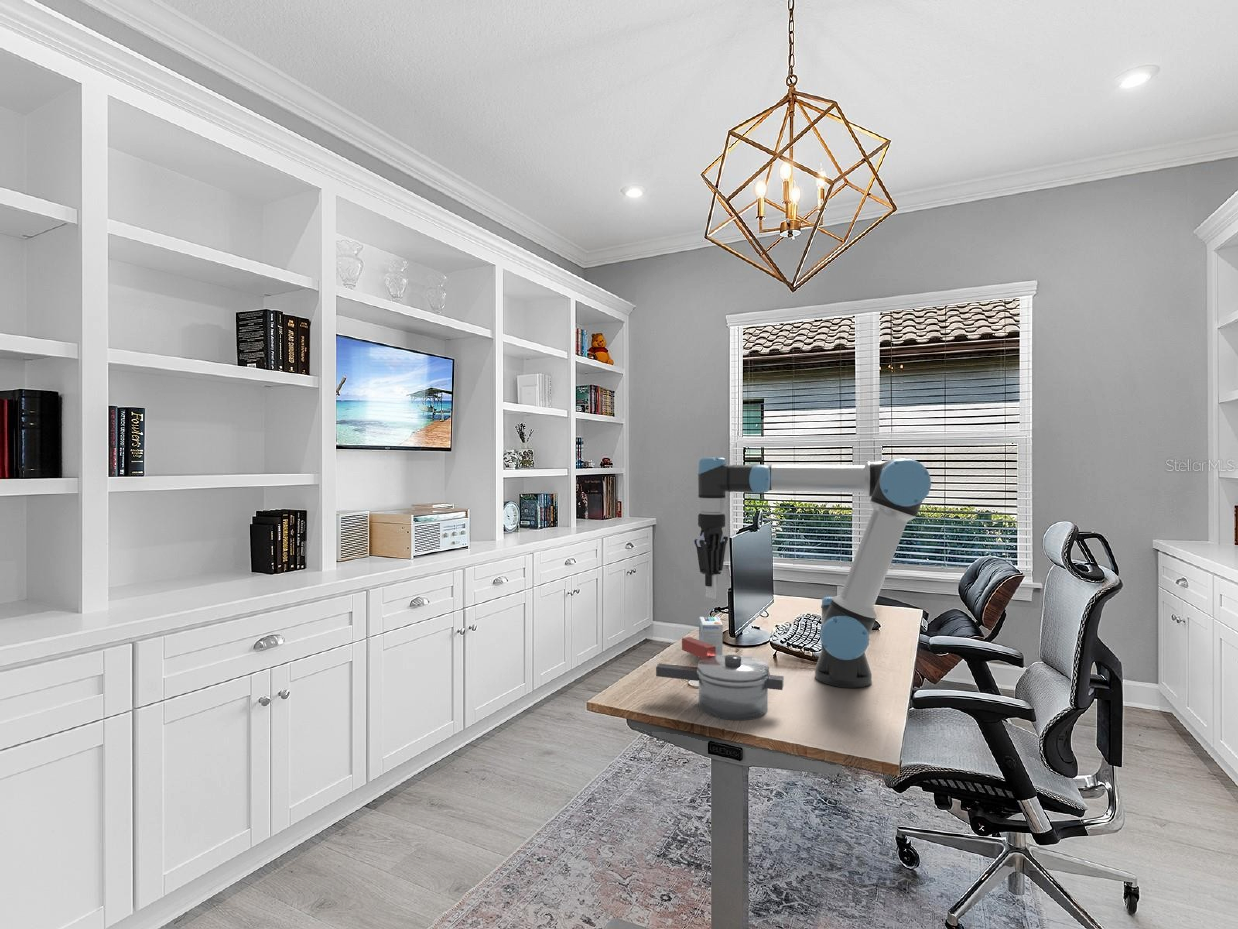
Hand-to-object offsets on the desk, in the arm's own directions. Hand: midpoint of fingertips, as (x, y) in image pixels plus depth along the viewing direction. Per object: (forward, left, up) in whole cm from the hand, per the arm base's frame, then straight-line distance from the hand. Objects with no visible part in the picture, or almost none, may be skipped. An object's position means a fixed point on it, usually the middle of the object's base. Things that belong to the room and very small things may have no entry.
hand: (711, 597), depth 186 cm
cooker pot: (-5, +17, -24) cm, 29 cm away
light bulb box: (+5, -26, -24) cm, 36 cm away
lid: (-5, +14, -14) cm, 20 cm away
